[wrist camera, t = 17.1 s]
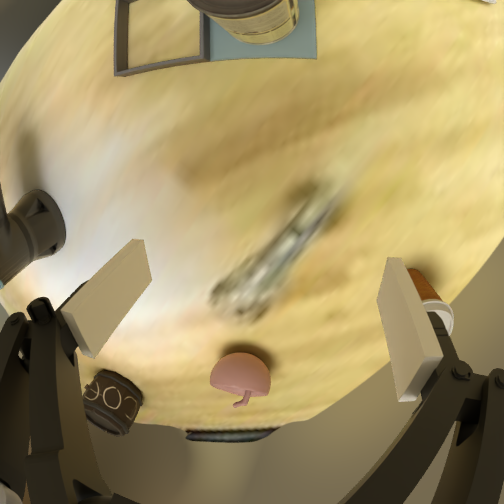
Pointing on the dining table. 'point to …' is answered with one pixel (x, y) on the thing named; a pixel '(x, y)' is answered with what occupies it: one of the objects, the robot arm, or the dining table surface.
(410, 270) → the disposable coffee cup
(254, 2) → the coffee can
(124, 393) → the coffee canister
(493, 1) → the salad plate
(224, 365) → the pink apple
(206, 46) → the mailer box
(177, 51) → the dining table surface
